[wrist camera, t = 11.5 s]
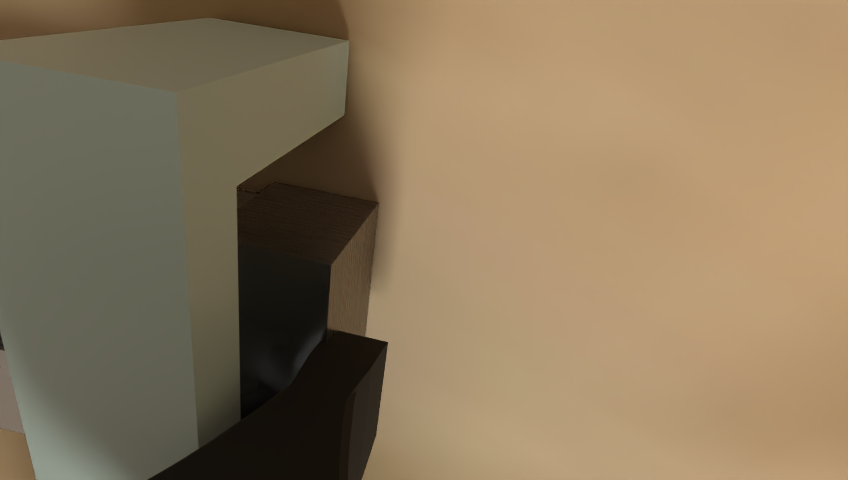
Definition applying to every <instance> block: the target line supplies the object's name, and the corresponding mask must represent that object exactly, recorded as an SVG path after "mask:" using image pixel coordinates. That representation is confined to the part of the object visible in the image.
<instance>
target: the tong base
mask: <svg viewBox="0 0 848 480" xmlns="http://www.w3.org/2000/svg"><path fill="white" fill-rule="evenodd" d="M378 206H379V203H376V202H371V201H366V200H361V199H356V198H351V197H346V196H341V195H336V194H331V193H326V192H321V191H316V190H311V189H306V188H301V187H296V186H291V185H286V184H281V183H276V182H274V183H273V184H271V185H270V186H268V187H267V188H266V189H264V190H263V191H262V192H260V193H259V194H256V193H251V192H246V191H241V190H237V242H238V300H239V357H240V415H241V420H242V419H243V418H245V417H246V416H248V415H249V414H251V413H252V412H254V411H255V410H256V409H258V408H259V407H260V406H262V405H263V404H264V403H266V402H267V401H268V400H270V399H271V398H272V397H274V396H275V395H276V394H278V393H279V392H280V391H282V390H283V389H284V388H285V387H287V386H288V385H289V384H291V383H292V382H293V380H294V379H295V377H296V376H297V374H298V372H299V371H300V369H301V367H302V366H303V364H304V362H305V361H306V359H307V357H308V356H309V354H310V353H311V351H312V350H313V349H314V348H315V347H316V346H317V345H318V344H319V343H320V342H321V341H323V342H327V341H328V340H329V339H330V338H331V337H332V336H333V335H334V334H335V333H336V332H337V331H343V332H347V333H351V334H355V335H359V336H364V337H365V333H366V323H367V313H368V303H369V294H370V284H371V274H372V264H373V254H374V245H375V235H376V225H377V215H378Z"/></svg>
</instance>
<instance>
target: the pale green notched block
mask: <svg viewBox="0 0 848 480" xmlns="http://www.w3.org/2000/svg"><path fill="white" fill-rule="evenodd" d="M349 42H350V41H349V40H343V39H337V38H331V37H325V36H319V35H312V34H306V33H300V32H294V31H288V30H282V29H276V28H270V27H264V26H258V25H252V24H246V23H240V22H234V21H227V20H221V19H215V18H202V19H192V20H183V21H174V22H164V23H155V24H146V25H136V26H127V27H118V28H108V29H99V30H90V31H80V32H71V33H62V34H53V35H43V36H34V37H25V38H15V39H6V40H0V333H1V337H2V341H3V345H4V349H5V354H6V358H7V362H8V366H9V370H10V374H11V378H12V382H13V386H14V391H15V395H16V399H17V403H18V407H19V411H20V415H21V419H22V423H23V428H24V432H25V436H26V440H27V444H28V448H29V452H30V456H31V460H32V465H33V469H34V473H35V477H36V480H147V479H149V478H151V477H153V476H154V475H156V474H158V473H159V472H161V471H163V470H165V469H166V468H168V467H170V466H171V465H173V464H175V463H176V462H178V461H180V460H181V459H183V458H185V457H186V456H188V455H189V454H191V453H193V452H194V451H196V450H197V449H199V448H200V447H202V446H204V445H205V444H207V443H208V442H210V441H211V440H213V439H214V438H216V437H217V436H219V435H220V434H221V433H223V432H224V431H226V430H227V429H229V428H230V427H232V426H233V425H235V424H236V423H238V422H239V421H240V420H241V415H240V357H239V300H238V242H237V186H238V185H239V184H241V183H242V182H244V181H245V180H247V179H248V178H250V177H251V176H253V175H254V174H256V173H257V172H259V171H260V170H262V169H263V168H265V167H266V166H268V165H269V164H271V163H272V162H274V161H276V160H277V159H279V158H280V157H282V156H283V155H285V154H286V153H288V152H289V151H291V150H292V149H294V148H295V147H297V146H298V145H300V144H301V143H303V142H304V141H306V140H307V139H309V138H310V137H312V136H313V135H315V134H317V133H318V132H320V131H321V130H323V129H324V128H326V127H327V126H329V125H330V124H332V123H333V122H335V121H336V120H338V119H339V118H341V117H342V116H344V115H345V101H346V86H347V72H348V57H349Z"/></svg>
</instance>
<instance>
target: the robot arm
mask: <svg viewBox="0 0 848 480" xmlns="http://www.w3.org/2000/svg"><path fill="white" fill-rule="evenodd" d="M387 346H388V342H385V341H381V340H376V339H372V338H368V337H364V336H359V335H355V334H351V333H347V332H343V331H337V332H336V333H335V334H334V335H333V336H332V337H331V338H330V339H329V340H328V341H327V342H323V341H321V342H320V343H319V344H318V345H317V346H316V347H315V348H314V349H313V350H312V351H311V353H310V354H309V356H308V357H307V359H306V361H305V362H304V364H303V366H302V367H301V369H300V371H299V372H298V374H297V376H296V377H295V379H294V380H293V382H292V383H291V384H289V385H288V386H287V387H285V388H284V389H283V390H282V391H280V392H279V393H278V394H276V395H275V396H274V397H272V398H271V399H270V400H268V401H267V402H266V403H264V404H263V405H262V406H260V407H259V408H258V409H256V410H255V411H254V412H252V413H251V414H249V415H248V416H246V417H245V418H243V419H242V420H240V421H239V422H238V423H236V424H235V425H233V426H232V427H230V428H229V429H227V430H226V431H224V432H223V433H221V434H220V435H219V436H217V437H216V438H214V439H213V440H211V441H210V442H208V443H207V444H205V445H204V446H202V447H200V448H199V449H197V450H196V451H194V452H193V453H191V454H189V455H188V456H186V457H185V458H183V459H181V460H180V461H178V462H176V463H175V464H173V465H171V466H170V467H168V468H166V469H165V470H163V471H161V472H159V473H158V474H156V475H154V476H153V477H151V478H149V479H147V480H361V479H362V476H363V473H364V470H365V467H366V464H367V461H368V458H369V455H370V452H371V449H372V446H373V443H374V440H375V437H376V431H377V424H378V416H379V408H380V400H381V392H382V385H383V377H384V369H385V361H386V353H387Z"/></svg>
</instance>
